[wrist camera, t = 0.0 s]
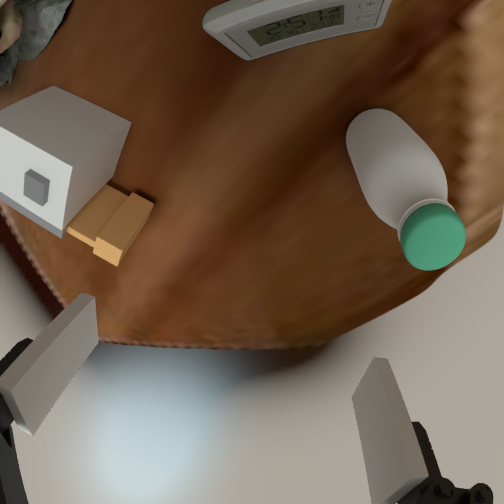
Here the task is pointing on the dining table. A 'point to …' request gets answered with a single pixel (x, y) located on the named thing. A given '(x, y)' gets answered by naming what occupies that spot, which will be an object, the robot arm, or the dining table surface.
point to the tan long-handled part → (110, 222)
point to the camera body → (57, 155)
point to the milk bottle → (405, 187)
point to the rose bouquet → (26, 30)
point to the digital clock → (288, 22)
